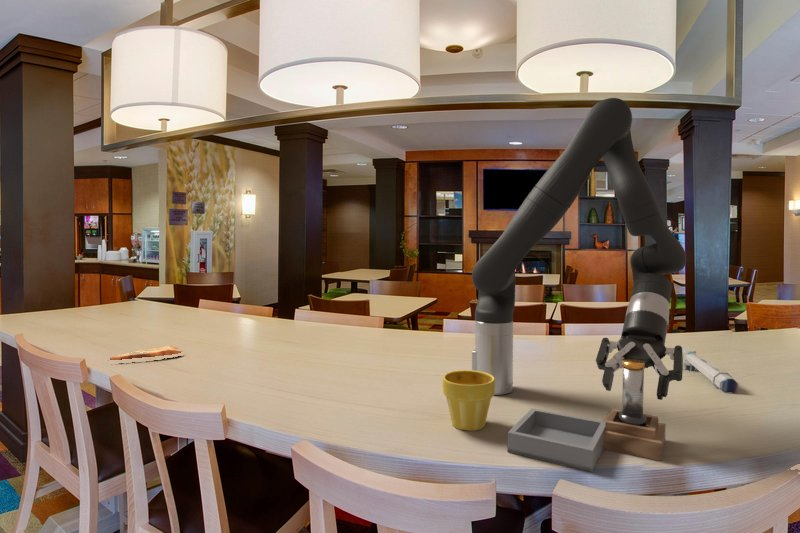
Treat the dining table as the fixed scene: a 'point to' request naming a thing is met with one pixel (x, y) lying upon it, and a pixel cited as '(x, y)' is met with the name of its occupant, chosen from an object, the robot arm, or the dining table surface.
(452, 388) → the plant pot
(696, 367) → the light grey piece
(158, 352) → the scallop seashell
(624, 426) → the brown square open box
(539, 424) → the tray
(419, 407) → the dining table surface
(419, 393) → the dining table surface
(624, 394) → the gold-capped glass canister
